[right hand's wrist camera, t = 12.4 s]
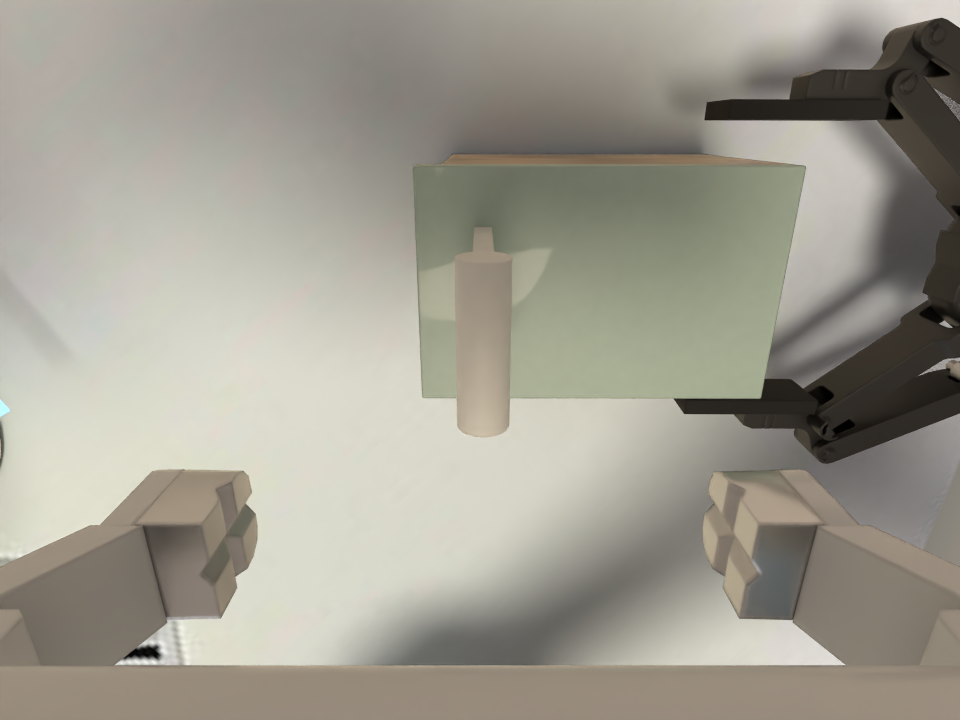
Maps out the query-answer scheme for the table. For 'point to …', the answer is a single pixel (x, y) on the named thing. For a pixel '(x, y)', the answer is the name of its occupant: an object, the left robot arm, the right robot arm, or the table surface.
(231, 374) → the table surface
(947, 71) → the left robot arm
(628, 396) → the lid
